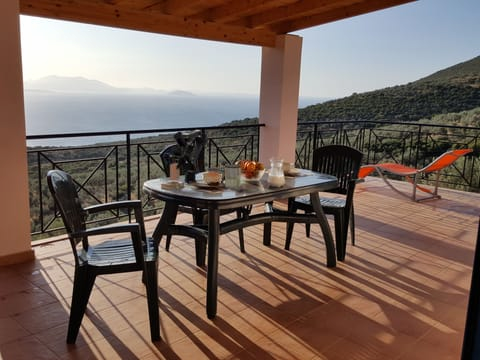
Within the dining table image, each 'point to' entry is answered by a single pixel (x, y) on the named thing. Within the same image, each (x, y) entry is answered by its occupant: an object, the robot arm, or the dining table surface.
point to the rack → (172, 185)
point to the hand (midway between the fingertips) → (173, 168)
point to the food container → (218, 171)
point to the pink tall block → (174, 172)
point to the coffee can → (232, 175)
